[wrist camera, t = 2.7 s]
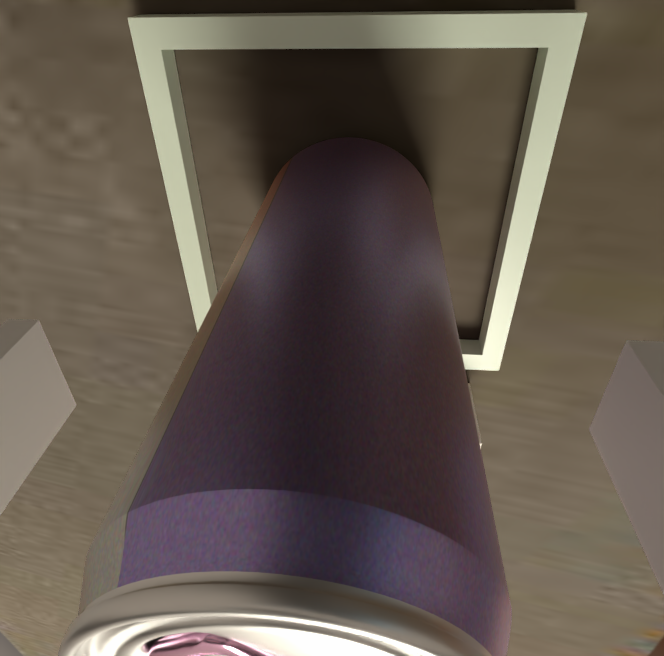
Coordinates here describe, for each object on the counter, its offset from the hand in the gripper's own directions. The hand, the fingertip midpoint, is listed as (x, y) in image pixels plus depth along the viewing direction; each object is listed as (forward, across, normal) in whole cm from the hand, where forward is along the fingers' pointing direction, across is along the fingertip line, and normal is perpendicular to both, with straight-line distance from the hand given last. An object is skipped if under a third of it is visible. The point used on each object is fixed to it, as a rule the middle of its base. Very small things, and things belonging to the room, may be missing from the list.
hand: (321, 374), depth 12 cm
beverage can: (+9, 0, 0) cm, 9 cm away
